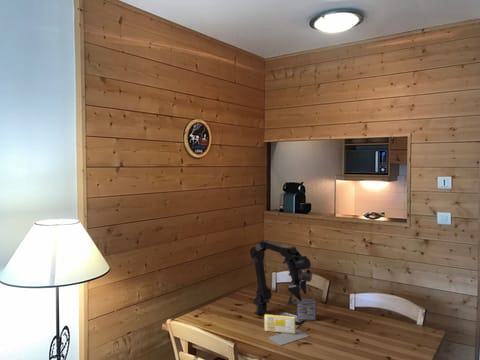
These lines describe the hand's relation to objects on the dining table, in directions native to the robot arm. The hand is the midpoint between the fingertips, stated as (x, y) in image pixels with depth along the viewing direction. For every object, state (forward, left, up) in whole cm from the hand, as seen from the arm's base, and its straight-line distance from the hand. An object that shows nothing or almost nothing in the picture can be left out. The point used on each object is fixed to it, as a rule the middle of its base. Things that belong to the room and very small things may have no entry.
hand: (303, 297), depth 206 cm
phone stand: (-29, +19, -16) cm, 38 cm away
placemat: (+6, -16, -16) cm, 23 cm away
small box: (-7, +8, -16) cm, 19 cm away
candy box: (0, -16, -16) cm, 22 cm away
